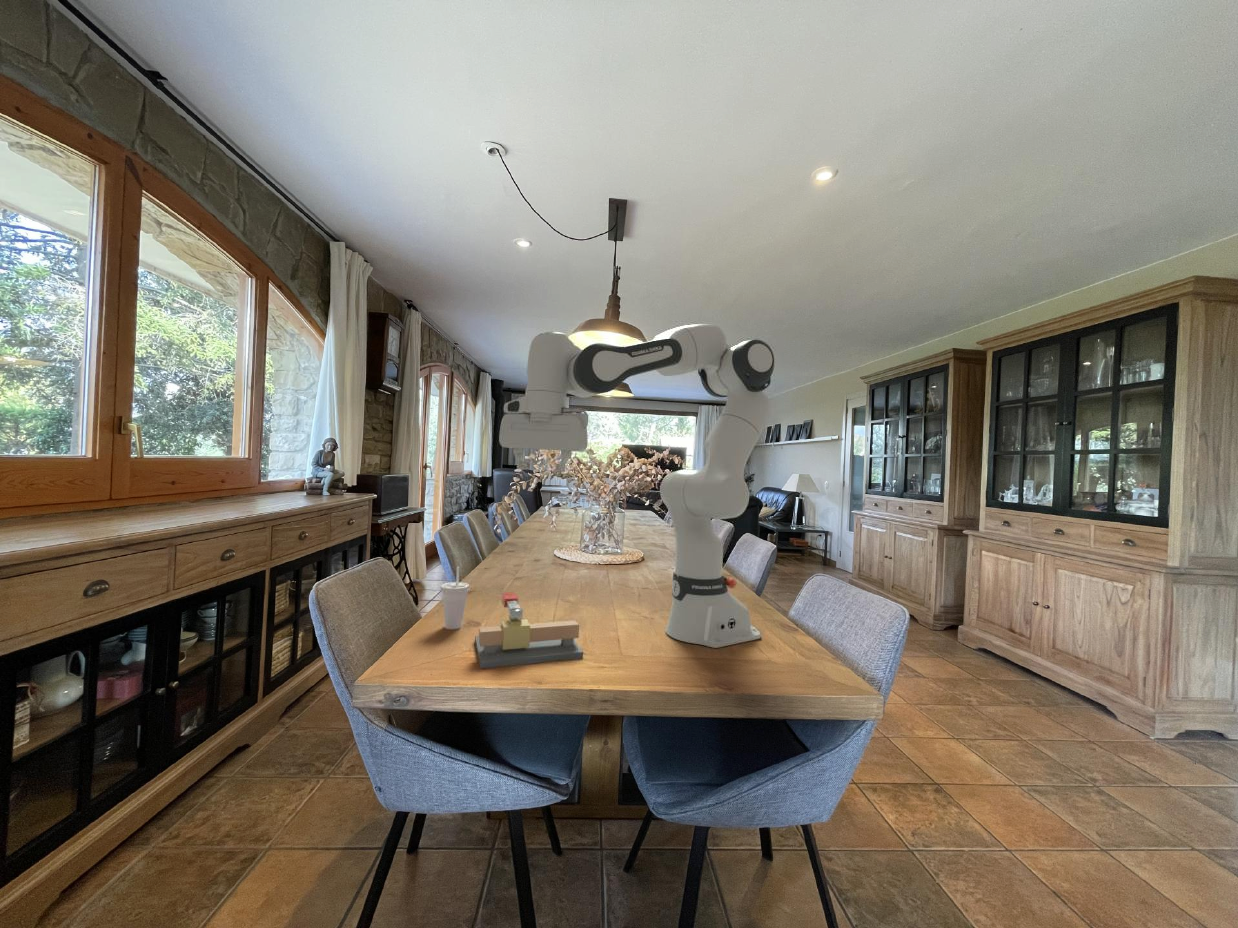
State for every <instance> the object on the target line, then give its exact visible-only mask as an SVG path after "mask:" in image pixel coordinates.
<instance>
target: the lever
mask: <svg viewBox="0 0 1238 928" xmlns="http://www.w3.org/2000/svg"><path fill="white" fill-rule="evenodd" d="M500 601H501V604H502V606H503V607H504V609H505V608H507V610H508V612H509V616H508V617H509V618H508V619H509V620H512V621H519V620H523V615H524V614H523V613H524V610H523V608H521V607H520V605H519V597H518V596H517V594H516V593H515V592H514V591H513V592H501V599H500Z"/></svg>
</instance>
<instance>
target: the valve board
mask: <svg viewBox="0 0 1238 928" xmlns="http://www.w3.org/2000/svg"><path fill="white" fill-rule="evenodd" d="M579 635H580V624H579V622H577V620H563V621H550V622H537V623H536V622H535V623H530V622H529V621H528V619H527V618H525V619H523V618H522V620H519V621H512V620H510V619H509V620H501V622H500V625H497V626H481V627H478V635H477V636H475V635H474V643H475V644H474V645H475V649H476V653H477V657H478V661H479V667H480V669H488V668H499V667H508V666H509V667H510V666H518V665H527V664H528V665H529V664H537V663H538V664H539V663H546V662H557V661H565V660H566V661H567V660H573V659H575V660H576V659H584V651H583V650H582V649H581V648H580V646H579V644H578V643H577V642H576V640H575V639H579V637H580V636H579Z"/></svg>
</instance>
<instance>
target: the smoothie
mask: <svg viewBox="0 0 1238 928" xmlns="http://www.w3.org/2000/svg"><path fill="white" fill-rule="evenodd" d="M469 590H470V584H469V583H467V582H463V581H460V566H456V579H455V581H451V582H446V583H443V584H441V585H440V592H441V596H442V597H441V598H442V608H443V619H444V628H445V629H446V630H458V629H460V628H462V626H463V620H464V616H465V615H464V613H465V609H466V602H467V598H468V591H469Z"/></svg>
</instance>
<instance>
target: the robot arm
mask: <svg viewBox="0 0 1238 928" xmlns="http://www.w3.org/2000/svg"><path fill="white" fill-rule="evenodd" d="M529 345H530V346H529V351H528V356H527V366H526V367H527V368H526V374H527V381H528V382H527V384H526V385H527V386H526V388H525V393H524V394H525V395H524V396H522V397H519V398H517V399H516V398H515V399H514V400H510V401H508V402H506V403H504V405H503V412H504V413H505V414H504V415H503V416H502V419H501V422H500V427H499V428H500V429H499V435H498V436H499V437H498V439H499V440H498V441H499V445H500V446H501V447H502V448H508V449H513V451H512V453H513V455H514V457H515V460H516V462H517V464H516V468H517V470H527V469H528V461H526V460H525V459H524V457H523V454H525V449H526V450H542V451H544V450H545V451H559V452H560V456H561V460H560V461H559V463H555V466H554V467H555V468H554V471H555V472H556V473H565V472H566V465H567V463H568V462H569V460H570V458H571V456H572V452H580V453H583V452H585V451H586V450H587V449H588V428H587V427H588V424H589V414H588V413H587V412H586V411H585V410H584V409H583V408H581V407H575V408H573V407H566V405H567V395H571V396H575V397H578V398H583V399H585V398H590V397H591V398H592V397H594V396H597V395H599V394H605V393H608V392H612V391H613V390H615V389H617V387H619V385H621V384H622V383H623V382H624V381H626V379H628V378H630V377H633V376H637V375H640V374H644V373H649V372H653V371H656V372H657V373H659V374H660V375H661V376H664V377H666V376H667V377H670V376H679V375H686V374H688V373H693V372H695V371H697V373H698V375H699V377H700V381H701V384H702V386H703V389H704V390H705V391H706V393H707V394H709V395H710V396H712V397H714V398H726V403H725V406H724V409H723V410H722V412H720V415H719V416H718V418H717V419H716V422H715V423H714V425H713V427H711V430H710V432H709V433H708V435H707V436H706V439H705V441H704V450H705V452H706V455H707V458H706V462H705V465H704V466H703V467H702V468H701V469H679V470H676V471H672V472H670V473H668V474H667V475H666V476H664V478H663V479H662V481H661V483H660V487H659V494H660V498H661V501H662V503H664V505H665V506H666V508H667V510H668V512H669V515H670V519H671V523H672V527H673V532H674V539H675V557H674V558H675V560H674V561H675V562H674V563H675V564H674V565H675V566H674V567H675V568H674V571H673V574H672V585H671V587H672V588H671V592H672V594H671V595H672V603H671V607H670V614H669V617H668V620H667V624H666V626H665V633H666V634H667V635H668V636H669V637H671V638H673V639H675V640H678V641H681V642H685V643H690V644H695V645H696V644H697V645H703V646H706V647H709V648H712V649H713V648H715V649H716V648H717V649H718V648H722V647H726V646H730V645H732V646H733V645H737V644H739V643H745V642H749V641H755V640H759V639H761V633H760V631H759V630H758V628H756V627H754V626H753V625H752V623H751V615H750V611H749V610H748V608H747V607H746V606H745V605H744V603H742V602H741V601H740V600H739V599H737V597H736V596H734V595H733V594H732V593H731V592H729V590H728V587H729V588H732V589H734V588H736V586H737V584H738V582H737V579H734V578H732V577H728V578H727V577H726V576H724V575H723V561H724V560H723V558H724V557H723V555H724V544H723V542H722V540H721V538H720V536H719V535H718V534H717V533H716V530H715V529H714V526H713V523H712V519H713V520H714V519H715V520H727V519H728V520H729V519H734V518H735V519H736V518H738V517H740V516H741V515H743V514H744V513H745V511H746V509H747V507H748V505H749V500H750V490H749V487H748V484H747V482H746V481H745V469H746V465H747V462H748V460H749V458H750V456H751V454H752V452H753V450H754V448H755V446H756V444H757V442H758V441H759V438H760V437H761V434H762V433H763V430H764V428H765V426H766V423H767V420H768V418H769V415H770V411H771V401H770V399H769V397H768V396H767V395H766V394H765V393H764V392H763V391H764V390H766V389H767V388H768V387H770V385H771V382H772V381H771V380H772V378H771V377H772V374H773V373H774V370H775V369H774V368H775V355H774V352H773V350H772V348H771V346H770V345H769V344H768V343H767V342H765V341H764V340H761V339H756V338H755V339H749V340H744V341H742V342H740V343H738V344H737V345H734V346H732V347H731V345H729V344H728V342H727V338H726V335H725V332H724V331H723V330H722V329H721V328H720V327H719V326H718V325H716V324H713V323H697V324H689V325H683V326H678V327H674V328H672V329H669V330H666V331H663V332H662V333H659V334H657V335H655V336H654V337H653V338H652V340H650V341H644V342H640V343H636V344H632V345H626V346H617V345H612V344H608V343H601V342H600V343H592V344H590V345H588V346H586V347H585V348H584V349H583V348H581V347H579V345H577V344H575V343H574V342H573V341H572V340H571V339H570V338H569V337H568V335H567V334H566V333H564V332H559V331H549V332H548V331H547V332H544V333H540V334H538V335H536V336H534V338H533V339H532V340H531V343H530V344H529Z"/></svg>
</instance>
